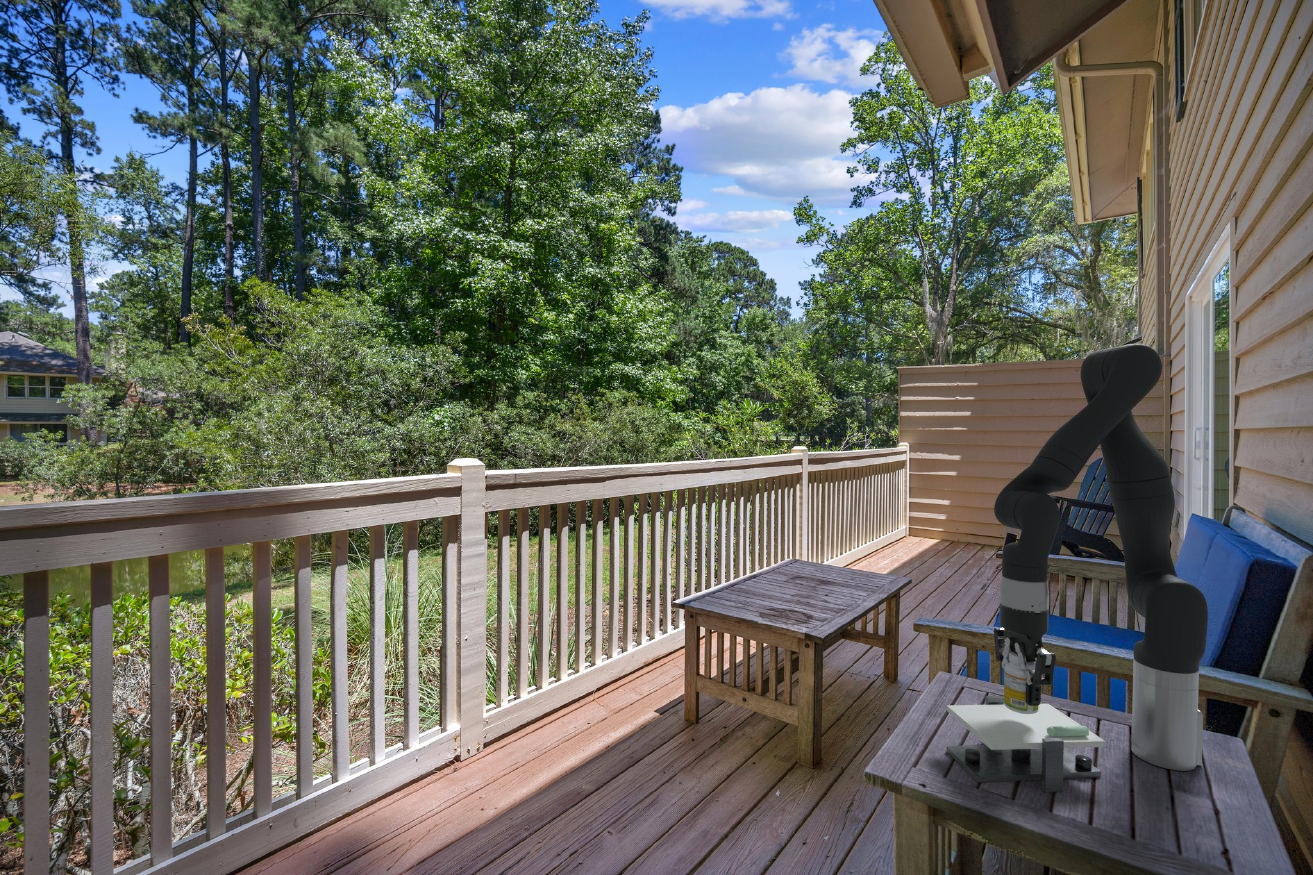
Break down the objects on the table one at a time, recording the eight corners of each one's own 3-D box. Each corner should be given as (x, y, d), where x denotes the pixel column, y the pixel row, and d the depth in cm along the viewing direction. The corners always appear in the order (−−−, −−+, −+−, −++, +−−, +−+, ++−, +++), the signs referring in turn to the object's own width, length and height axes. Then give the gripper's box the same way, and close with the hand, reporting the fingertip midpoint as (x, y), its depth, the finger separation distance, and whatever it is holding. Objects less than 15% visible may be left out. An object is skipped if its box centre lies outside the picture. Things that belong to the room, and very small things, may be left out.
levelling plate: (1047, 708, 121) (1048, 694, 121) (1105, 746, 107) (1105, 731, 107) (946, 710, 119) (947, 696, 119) (991, 749, 105) (991, 733, 105)
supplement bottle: (1026, 701, 116) (1027, 648, 115) (1045, 714, 110) (1046, 659, 110) (997, 701, 116) (998, 648, 115) (1014, 715, 110) (1016, 660, 110)
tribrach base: (1046, 737, 122) (1047, 693, 122) (1117, 788, 105) (1118, 738, 105) (936, 741, 121) (937, 697, 121) (990, 794, 104) (991, 743, 104)
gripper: (979, 592, 119) (978, 680, 120) (1030, 616, 105) (1027, 716, 105) (1018, 591, 120) (1016, 679, 120) (1073, 615, 105) (1070, 715, 106)
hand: (1021, 696), depth 113 cm, fingers closed on supplement bottle, 5 cm apart
